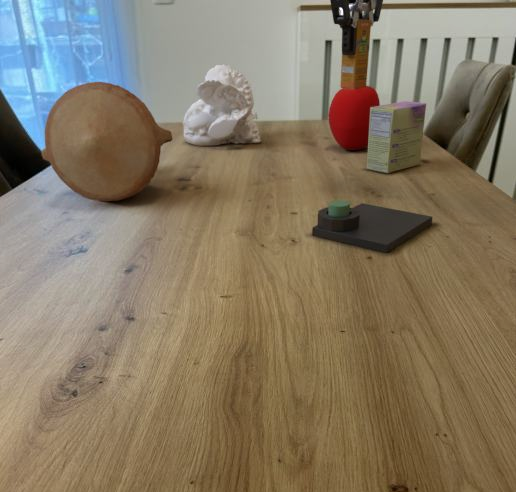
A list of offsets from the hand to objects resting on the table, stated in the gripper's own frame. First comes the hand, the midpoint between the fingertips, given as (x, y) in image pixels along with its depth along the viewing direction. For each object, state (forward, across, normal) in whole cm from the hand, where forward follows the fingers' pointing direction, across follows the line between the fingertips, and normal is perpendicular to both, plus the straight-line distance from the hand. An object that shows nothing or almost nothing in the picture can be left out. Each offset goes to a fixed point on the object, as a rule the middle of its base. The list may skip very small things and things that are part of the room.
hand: (355, 53), depth 90 cm
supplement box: (+5, 0, 0) cm, 5 cm away
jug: (+21, -25, +34) cm, 48 cm away
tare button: (+19, -23, -12) cm, 32 cm away
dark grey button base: (+22, -18, -15) cm, 32 cm away
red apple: (+22, +27, +16) cm, 38 cm away
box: (+22, +16, 0) cm, 27 cm away
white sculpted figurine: (+21, +16, +47) cm, 54 cm away
